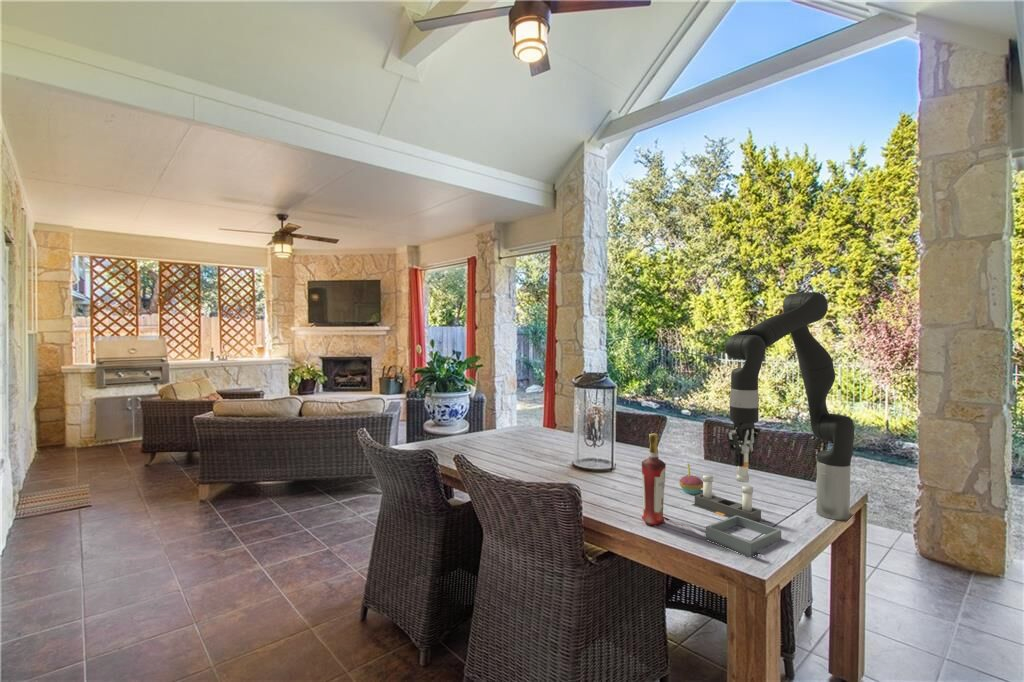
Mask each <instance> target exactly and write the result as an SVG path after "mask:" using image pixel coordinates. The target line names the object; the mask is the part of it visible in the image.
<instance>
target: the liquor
mask: <svg viewBox="0 0 1024 682" xmlns="http://www.w3.org/2000/svg"><path fill="white" fill-rule="evenodd" d="M648 437H649V452H648V458H645V459H643V461H641V485H642V503H643V504H642V513H643V515H642V516H641V520H643V521H644V523H646V524H647V525H649V524H651V525H650V526H654V525H656V526H659V524H660V525H661V524H662V523H664V522H665V517H664V501H665V500H664V499H665V498H664V497H665V484H666V465H667V464H666V462H664V461H663V460H661V459H660V458H659V452H658V451H659V450H658V447H659V446H658V444H659V443H658V442H659V434H657V433H649V434H648Z"/></svg>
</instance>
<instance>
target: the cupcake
mask: <svg viewBox="0 0 1024 682" xmlns="http://www.w3.org/2000/svg"><path fill="white" fill-rule="evenodd" d="M690 468H691V467H690V463H689V462H687V473H688V475H683V476H682V477H681V478H680V479H679V483H678V484H679V486H680V487H681V489H682V491H683V493H685V494H690V495H698V494H700V491H701V489H703V479H701V478H699V477H697V476H696V475H695V476H694V475H691V469H690Z"/></svg>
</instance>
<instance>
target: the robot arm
mask: <svg viewBox="0 0 1024 682" xmlns="http://www.w3.org/2000/svg"><path fill="white" fill-rule="evenodd" d="M782 302H783V303H782V311H783V312H782V313H779V314H776V315H772V316H770V317H768V318H766V319H764V320H763V321H761V322H759V323H758V324H756V325H755V326H753V327H751V328H747V329H744V330H741V331H739V332H736V333H734V334H732V335H731V336H730V337H729V338H728V339H727V340H726V342H725V345H724V352H725V353H726V355H727V356H728V357H729V358H731V359H733V360H740V361H741V360H742V361H744V364H743V365H742V367H736V368H734V369H732V371H731V374H730V393H729V420H730V421H731V422H732V423H733V424H732V430H731V431H727V432H726V433H725V435H726V438H727V439H726V440H727V443H728V447H729V451H731V452H734V464H735V466H740V467H742V466H744V454H743V453H744V447H745V446H746V445H747V446H749V453H748V461H749V466H750V465H751V464H752V452H753V451H754V449H756V448H757V446H758V443H759V438H760V435H761V428H758V427H755V424H757V423H759V417H760V416H759V415H760V413H759V411H760V408H759V407H760V403H759V401H760V398H759V395H760V394H759V375H760V370H761V368H762V363H763V361H764V358H765V355H766V349H767V348H768V347H771V346H772V345H774V344H775V343H777V342H778V341H779V340H781V339H783V338H784V337H786V336H788V335H789V334H790V335H791V339H792V341H793V344H794V345H793V346H794V348H795V351H796V357H797V360H798V367H799V370H800V374H801V378H802V381H803V385H804V389H805V393H806V399H807V405H808V412H809V420H810V421H809V423H810V427H811V430H812V433H813V436H814V437H815V438H816V439H819V440H821V441H825V442H828V443H829V442H830V443H832V449H829V450H821V451H819V452H817V457H816V458H817V459H816V460H817V461H816V501H815V502H816V507H815V508H816V509H815V510H816V513H817V514H818V515H820V517H824V518H827V519H832V520H839V521H841V520H844V521H846V520H849V519H850V518H851V517H850V512H851V511H850V509H851V469H852V467H851V465H852V463H851V461H852V458H853V453H854V443H855V442H854V441H855V440H854V439H855V424H854V421H853V419H852V418H851V417H850V416H847V415H843V414H837V413H836V414H835V413H832V412H829V411H828V408H827V397H828V394H829V392H830V391H831V389H832V387H833V385H834V383H835V381H836V372H835V371H836V370H835V367H834V364H833V363H834V362H833V358H832V356H831V354H830V353H829V352H828V350H827V349H825V347H824V346H823V345H822V344H821V343H820V342H819V341H818V340H817V339H816V338H815V337H814V335H812V333H811V331H810V329H809V327H808V325H810V324H812V323H815V322H816V323H817V322H818V321H821V320H823V318H825V317H826V315H827V313H828V310H829V303H828V299H827V297H826V296H825V295H824V294H823V293H820V292H816V291H810V292H806V291H805V292H798V293H796V292H795V293H790V294H787V295H786V296H785V297H784V299H783V301H782ZM739 445H741V447H740V446H739Z"/></svg>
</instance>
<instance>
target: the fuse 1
mask: <svg viewBox="0 0 1024 682" xmlns="http://www.w3.org/2000/svg"><path fill="white" fill-rule="evenodd" d="M713 478H714V476H713V475H711V474H703V475H702V481H703V488H702V493H703V498H706V499H709V500H710V499H712V495H713V482H714V479H713Z"/></svg>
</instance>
